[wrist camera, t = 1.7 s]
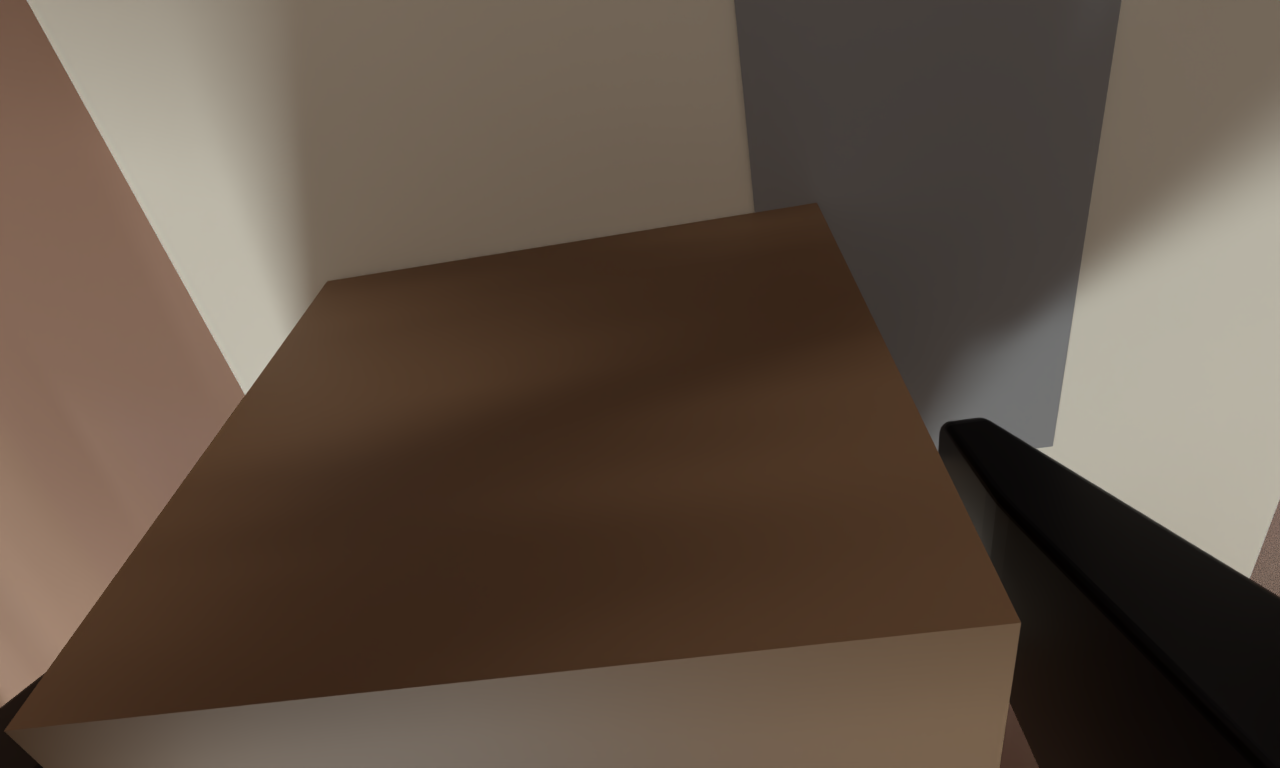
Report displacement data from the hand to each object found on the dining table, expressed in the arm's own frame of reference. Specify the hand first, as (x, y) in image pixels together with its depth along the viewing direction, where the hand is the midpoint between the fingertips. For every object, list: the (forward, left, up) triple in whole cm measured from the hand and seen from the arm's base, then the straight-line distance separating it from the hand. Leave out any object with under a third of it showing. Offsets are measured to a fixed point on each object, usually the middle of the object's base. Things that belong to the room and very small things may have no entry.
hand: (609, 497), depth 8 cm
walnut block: (0, 0, -1) cm, 1 cm away
